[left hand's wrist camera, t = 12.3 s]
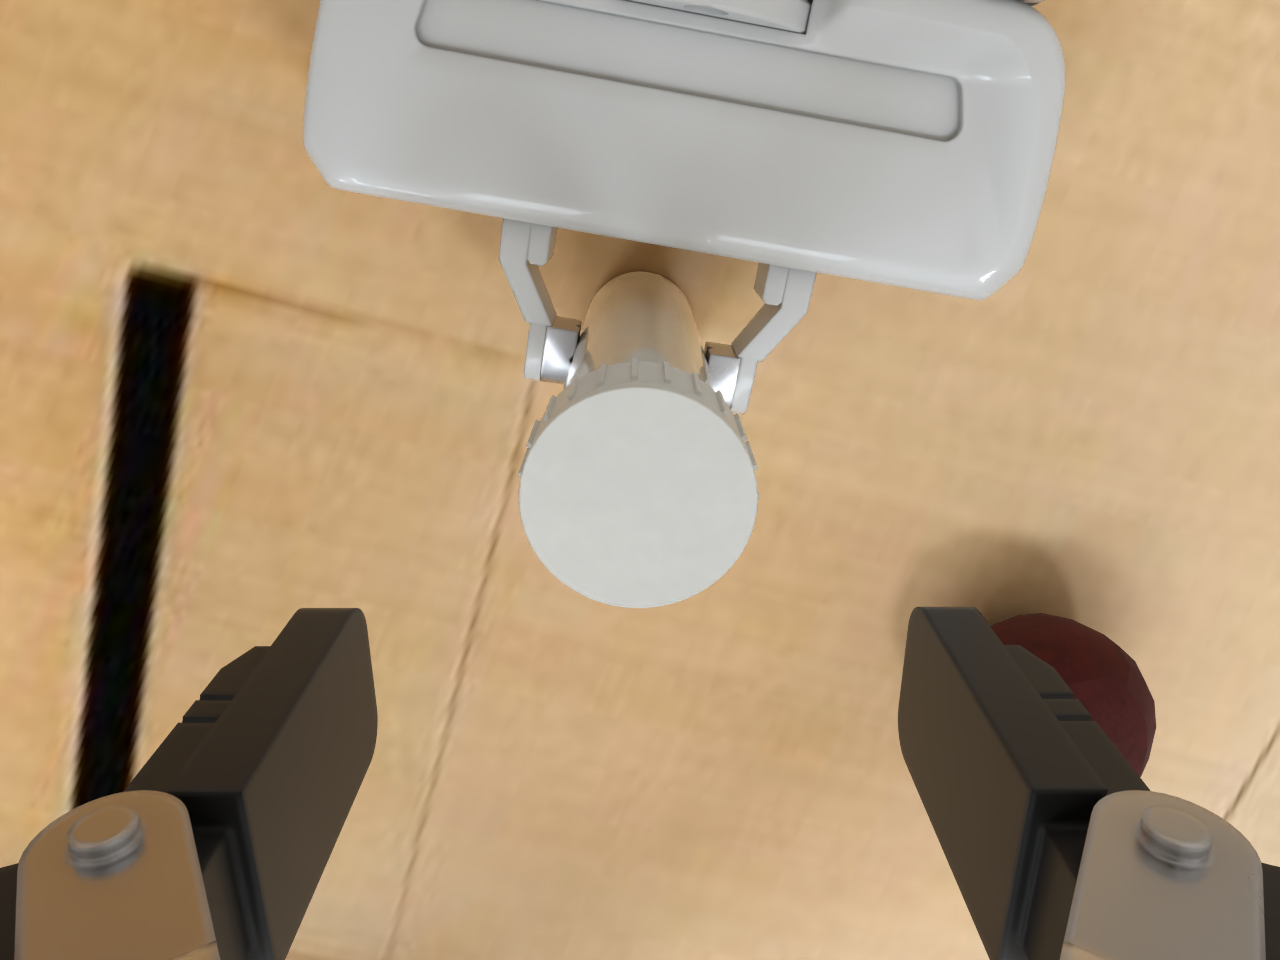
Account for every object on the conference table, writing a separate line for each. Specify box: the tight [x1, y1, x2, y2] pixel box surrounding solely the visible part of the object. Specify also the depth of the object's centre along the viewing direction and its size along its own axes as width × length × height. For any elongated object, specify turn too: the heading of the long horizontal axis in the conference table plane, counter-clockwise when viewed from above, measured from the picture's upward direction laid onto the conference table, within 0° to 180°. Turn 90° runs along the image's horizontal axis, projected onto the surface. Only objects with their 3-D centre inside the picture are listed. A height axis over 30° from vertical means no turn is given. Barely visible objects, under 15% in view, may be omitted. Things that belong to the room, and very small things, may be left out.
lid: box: [518, 358, 759, 608], centre depth 18 cm, size 5×5×2 cm
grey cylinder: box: [563, 271, 716, 392], centre depth 26 cm, size 4×4×17 cm
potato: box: [991, 613, 1156, 777], centre depth 35 cm, size 7×8×7 cm
